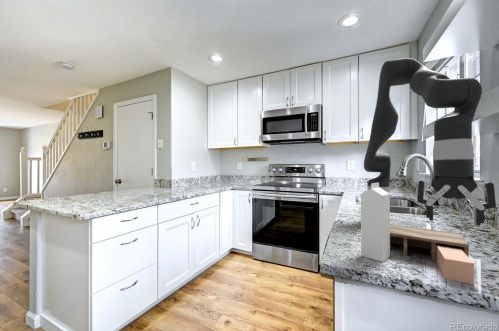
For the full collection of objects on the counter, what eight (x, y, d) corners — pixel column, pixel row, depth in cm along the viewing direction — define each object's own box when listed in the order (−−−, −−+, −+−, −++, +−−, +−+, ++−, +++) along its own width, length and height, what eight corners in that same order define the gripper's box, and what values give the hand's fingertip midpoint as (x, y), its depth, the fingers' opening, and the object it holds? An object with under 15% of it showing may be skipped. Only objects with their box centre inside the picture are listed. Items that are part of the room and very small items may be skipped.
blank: (436, 263, 61) (436, 245, 61) (461, 267, 58) (460, 249, 58) (445, 279, 52) (445, 258, 52) (474, 285, 50) (473, 263, 50)
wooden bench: (382, 240, 79) (382, 223, 79) (460, 253, 67) (460, 233, 67) (378, 250, 70) (378, 231, 70) (468, 268, 57) (468, 244, 57)
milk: (361, 256, 66) (359, 183, 66) (369, 250, 70) (367, 181, 70) (383, 262, 61) (382, 184, 61) (390, 256, 65) (389, 182, 65)
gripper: (489, 158, 54) (489, 223, 54) (416, 159, 62) (417, 216, 62) (499, 157, 48) (499, 230, 48) (417, 158, 56) (417, 221, 56)
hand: (453, 222), depth 55 cm, fingers open, 8 cm apart
